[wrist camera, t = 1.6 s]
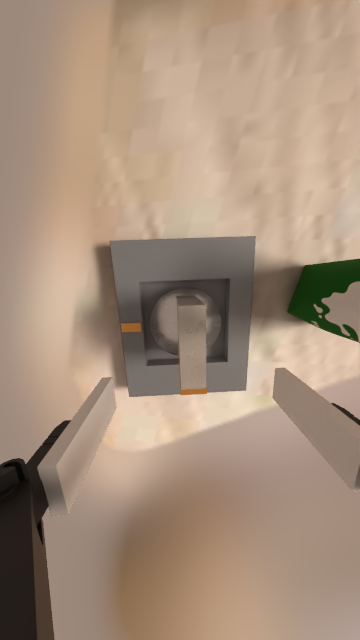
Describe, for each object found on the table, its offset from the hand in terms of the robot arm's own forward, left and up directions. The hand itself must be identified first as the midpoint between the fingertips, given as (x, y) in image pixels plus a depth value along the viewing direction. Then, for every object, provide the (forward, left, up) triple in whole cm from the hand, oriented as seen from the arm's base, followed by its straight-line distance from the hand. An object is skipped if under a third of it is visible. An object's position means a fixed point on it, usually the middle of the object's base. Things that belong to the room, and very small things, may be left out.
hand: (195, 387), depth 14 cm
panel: (-2, 0, -13) cm, 13 cm away
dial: (-2, 0, -13) cm, 13 cm away
